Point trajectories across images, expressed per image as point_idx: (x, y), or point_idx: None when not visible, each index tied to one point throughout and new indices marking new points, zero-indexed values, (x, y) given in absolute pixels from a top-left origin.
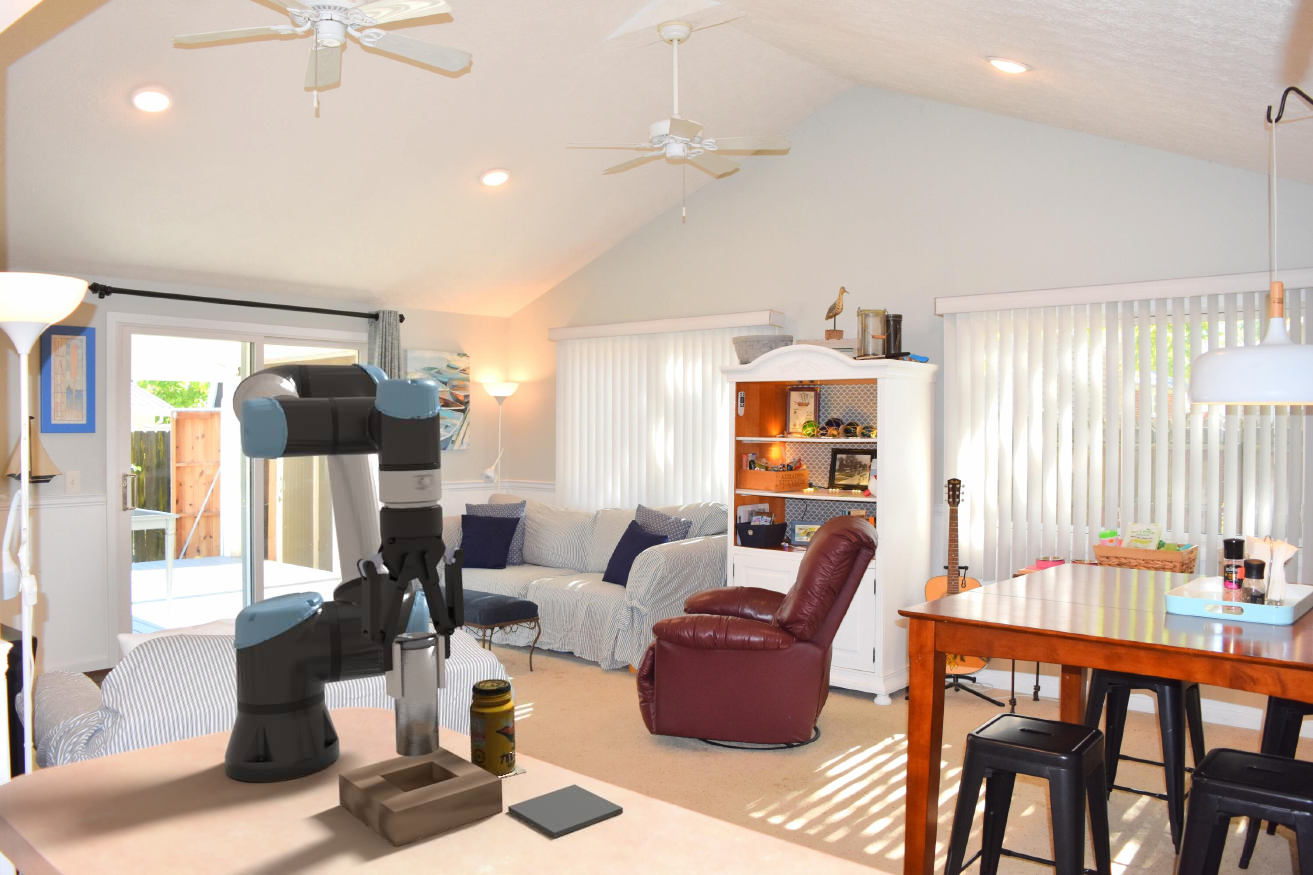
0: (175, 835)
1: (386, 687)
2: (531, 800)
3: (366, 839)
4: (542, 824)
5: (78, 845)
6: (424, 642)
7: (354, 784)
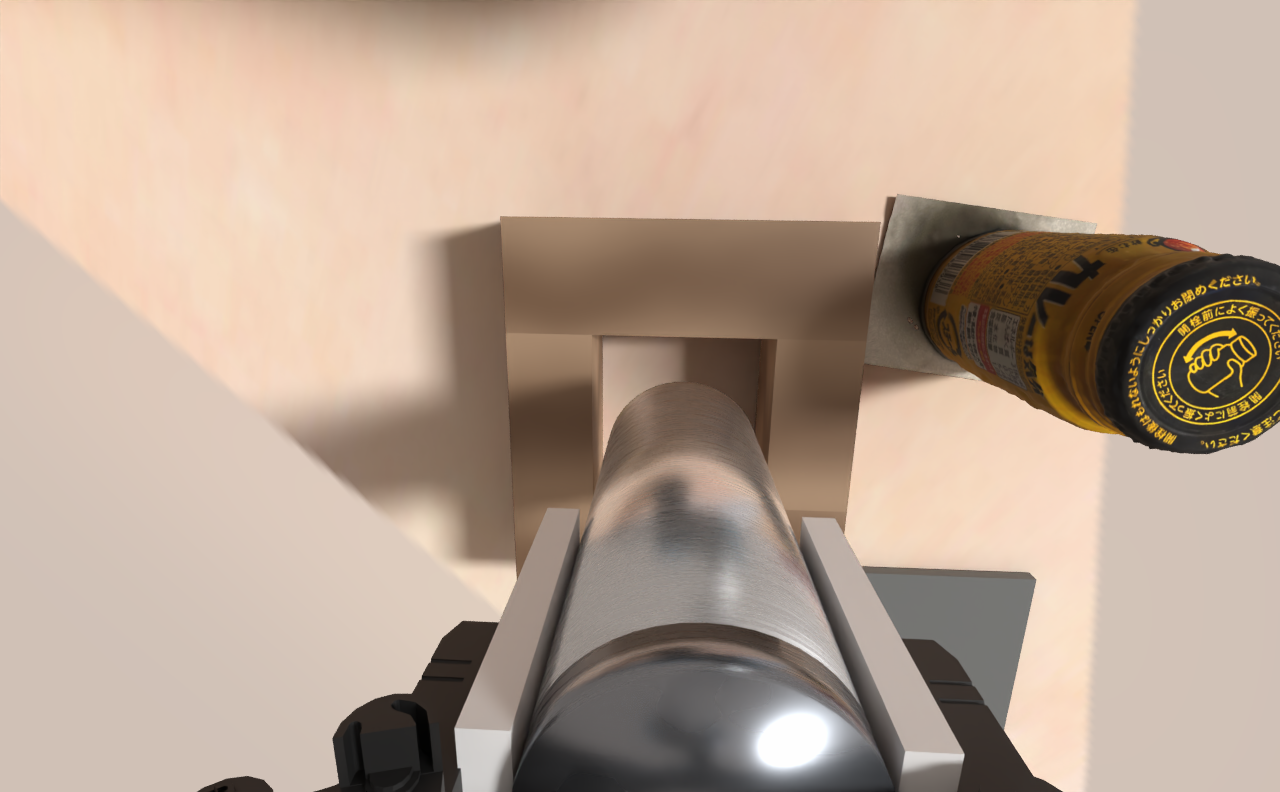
0: (106, 90)
1: (541, 528)
2: (889, 582)
3: (500, 466)
4: None
5: None
6: None
7: (506, 344)
